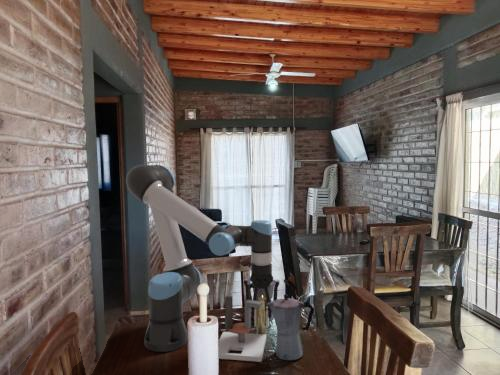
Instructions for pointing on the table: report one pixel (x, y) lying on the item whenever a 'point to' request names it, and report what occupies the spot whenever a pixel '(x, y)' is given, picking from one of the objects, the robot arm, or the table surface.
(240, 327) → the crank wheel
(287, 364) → the table surface
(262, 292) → the coffeepot
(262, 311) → the hook peg
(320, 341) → the table surface
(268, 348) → the table surface
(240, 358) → the base
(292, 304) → the moka pot
